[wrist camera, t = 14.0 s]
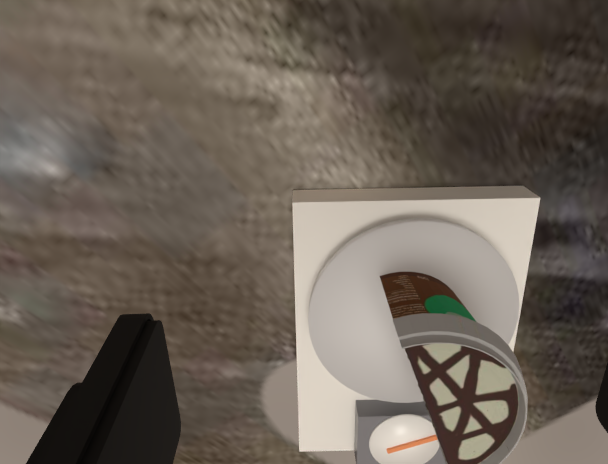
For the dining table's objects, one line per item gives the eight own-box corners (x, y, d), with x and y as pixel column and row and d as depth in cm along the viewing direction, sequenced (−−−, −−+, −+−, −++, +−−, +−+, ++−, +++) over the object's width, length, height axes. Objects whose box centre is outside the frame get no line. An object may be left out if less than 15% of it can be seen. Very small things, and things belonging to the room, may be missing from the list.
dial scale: (293, 189, 38) (291, 214, 33) (522, 185, 38) (556, 209, 33) (299, 426, 48) (299, 473, 43) (485, 423, 48) (506, 469, 43)
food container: (494, 364, 39) (555, 467, 30) (420, 386, 40) (456, 494, 31) (456, 230, 35) (512, 303, 25) (373, 259, 35) (398, 340, 26)
